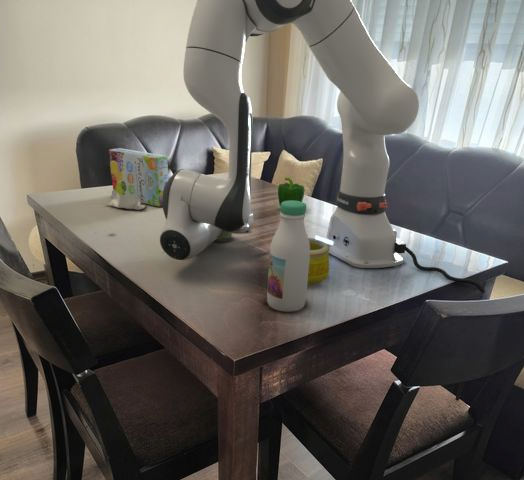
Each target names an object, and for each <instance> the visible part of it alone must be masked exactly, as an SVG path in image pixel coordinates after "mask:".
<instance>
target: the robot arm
mask: <svg viewBox="0 0 524 480" xmlns="http://www.w3.org/2000/svg"><path fill="white" fill-rule="evenodd" d="M192 13H193V14H192V17H191V21H190V25H189V29H188V33H187V38H186V45H185V53H184V58H183V82H184V85H185V87H186V90H187V92H188V94H190V96H191V98H192V99H193V100H194V101H195V102H196V103H197V104H198V105H199V106H201V107H202V108H204V109H205V110H206V111H207V112H209V113H210V114H211V115H212V116H214V117H215V118H217V119H218V120H219V121H221V123H222V124H223V125H224V127H225V128H226V130H227V133H228V138H229V142H228V143H229V148H228V149H229V151H228V178H227V179H222V178H219V177H215V176H211V175H206V174H204V173H200V172H197V171H193V170H188V169H184V168H182V169H178V170H177V171H176V172H174V173H173V174H172V175H171V176H170V177H169V178H168V179H169V180H168V181H167V183H166V184H165V187H164V190H163V196H162V205H163V206H162V211H163V215H164V217H165V219H166V221H165V223H164V226H163V228H162V230H161V231H160V235H159V243H160V246H161V249H162V250H163V252H164V253H165V254H166V255H167V256H168V257H170V258H172V259H175V260H176V261H187V260H190V259H192V258H194V257H196V256H198V255H199V254H200V253H201V252H203V250H204V249H206V248H207V246H209V245H211V244H212V243H213V242H214V241H215V240H217V239H218V238H217V237H218V236H219V235H220V233H221V231H222V232H229V233H232V234H243V233H247V232H246V231H247V230H248V231H249V230H250V229H252V228H253V227H254V214H253V213H252V187H251V174H252V153H253V152H252V151H253V150H252V149H253V108H252V102H251V101H252V100H251V99H250V97H249V96H248V95H247V94H246V93H245V91H244V88H243V83H242V82H243V81H242V69H243V62H244V58H245V57H244V55H245V48H246V46H247V43H248V40H249V38H250V37H258V36H262V35H264V34H270V33H273V32H276V31H277V30H279V29H281V28H283V26H285V25H288V24H292V25H294V26H295V28H296V29H298V31H299V32H300V33H301V35H302V38H303V39H304V40H305V42H306V44H307V46H308V47H309V49H310V51H311V53H312V54H313V56H314V57H315V59H316V61H317V62H318V65H319V66H320V67H321V69H322V71H323V72H324V74H325V76H326V78H327V79H328V80H329V81H330V82H331V83H332V84H333V85H334V86H335V87H336V88H337V89H338V90H339V94H338V96H337V101H336V109H337V112H338V115H339V118H340V122H341V133H342V150H343V160H342V170H341V178H340V185H339V190H338V191H337V195H336V202H335V203H336V208H335V210H334V211H333V213H332V215H331V216H330V218H329V223H328V229H327V233H326V238H325V237H321V236H319V235H315V237H314V239H317V240H320V241H323V242H325V243H326V244H327V245H328V246H329V251H328V253H329V255H330V254H331V255H332V256H334V257H335V258H338V259H339V260H340V261H343V262H345V263H347V264H349V265H350V266H352V267H355V268H360V269H361V268H362V269H380V268H382V269H383V268H390V267H396V266H400V265H402V264H403V263H404V258H403V257H402V256H401V255H400V254H405V253H407V254H408V255H410V257H411V259H412V263H413V265H414V267H416V269H418V270H420V271H424V272H437V273H440V274H441V275H442V276H443V277H444V278H445V279H447V280H449V281H451V282H455V283H462V284H463V283H464V284H470V285H472V286H475V287H476V288H477V289H478V291H479V292H480V293H483V294H485V293H486V290H485V289H484V287H483V285H482V284H480V283H479V282H478V281H476V280H473V279H470V278H462V277H454V276H452V275H450V274H449V273H448V272H447V271H446V270H445V269H443V268H440V267H436V266H423V265H421V264H419V262H418V259H417V256H416V254H415V253H414V252H413V251H412V250H411V249H410V248H408V247H407V243H406V242H405V241H403V240H402V239H401V238H400V237H397V235H398V234H397V230H396V229H393V227H392V225H391V223H390V221H389V219H388V217H387V215H386V211H387V208H388V207H389V206H388V204H389V202H387V199H386V194H385V191H386V186H387V179H388V175H389V174H388V173H389V169H390V158H389V155H388V153H387V152H388V151H387V147H386V140H385V137H388V136H395V135H400V134H403V133H405V132H406V131H408V130H409V129H410V128H411V127H412V125H413V124H414V123H415V121H416V118H417V117H418V114H419V107H420V101H419V96H418V93H417V92H416V90H414V88H413V87H412V86H410V85H409V84H408V83H406V81H404V80H403V79H402V78H401V76H400V75H399V73H398V72H397V71H396V69H395V68H394V67H393V65H392V64H391V63H390V62H389V61H388V59H387V58H386V57H385V56H384V55H383V53H382V52H381V51H380V49H379V48H378V47H377V45H376V44H375V42H374V41H373V39H372V37H371V36H370V34H369V32H368V30H367V28H366V26H365V24H364V22H363V21H362V19H361V17H360V14H359V12H358V11H357V9H356V7H355V5H354V3H353V1H352V0H197V1H196V3H195V6H194V9H193V12H192ZM465 384H466V381H465V382H464V383H461V382H460V383H459V386H458V389H457V392H456V395H455V399H454V400H455V401H457V402H459V401H460V398H461V395H462V392H463V389H464V386H465Z"/></svg>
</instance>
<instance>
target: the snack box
mask: <svg viewBox="0 0 524 480" xmlns="http://www.w3.org/2000/svg"><path fill="white" fill-rule="evenodd" d="M108 156H109V157H108V158H109V165H110V175H111V183H112V191H117V192H118V194H119V195H123V196H124V195H132V194H138V196H139V199H140V202H141V204H145V205H150V206H154V207H163V205H162V196H163V190H164V187H165V184H166V183H167V181H168V179H169V167H168V166H169V165H168V164H169V163H168V155H165V154H164V155H163V154H157V153H151V152H146V151H139V150H133V149H127V148H123V147H119V148H112V149H108Z"/></svg>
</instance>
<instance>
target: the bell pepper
mask: <svg viewBox="0 0 524 480" xmlns="http://www.w3.org/2000/svg"><path fill="white" fill-rule="evenodd" d="M284 180H285V181H288V182H284V183H280V184H279V185H278V187H277V197H278V203H279V207H280V206H281V203H282V202H284V201H290V200H292V201H300V202H303V201H304V197H305V191H306V189H305V186H304V185H301V184H299V183H294V181H293V179H292V178H291V177H289V176H287V177H286V176H285V177H284Z"/></svg>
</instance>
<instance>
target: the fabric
mask: <svg viewBox="0 0 524 480" xmlns="http://www.w3.org/2000/svg"><path fill="white" fill-rule="evenodd" d="M111 197H112V199H111V200H110V202H109V203H108V206H110V207H114V208H116V209H117V208H118V209H127V210H136V211H137V210H142V209H144V208H146V205H141V204H142V203H141V202H140V199H139V196H138V194H132V195H124V196H123V195H119V194H118V192H117V191H113V190H111Z"/></svg>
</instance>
